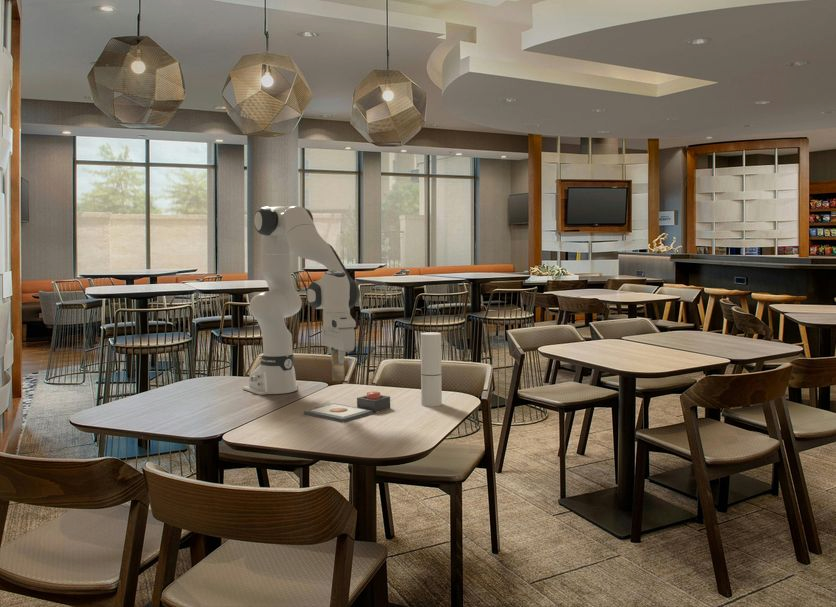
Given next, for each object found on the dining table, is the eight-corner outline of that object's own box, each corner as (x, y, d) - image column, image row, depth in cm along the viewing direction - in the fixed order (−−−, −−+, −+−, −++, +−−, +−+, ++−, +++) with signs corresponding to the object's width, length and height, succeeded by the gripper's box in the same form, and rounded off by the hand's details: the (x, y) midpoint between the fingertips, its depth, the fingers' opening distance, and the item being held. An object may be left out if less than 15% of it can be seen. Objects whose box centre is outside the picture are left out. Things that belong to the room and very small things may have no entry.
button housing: (357, 409, 226) (357, 397, 226) (372, 405, 233) (372, 393, 232) (374, 412, 221) (374, 400, 221) (390, 408, 228) (390, 396, 227)
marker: (329, 380, 219) (328, 347, 218) (338, 378, 222) (337, 345, 222) (338, 381, 217) (337, 348, 216) (347, 379, 220) (346, 346, 219)
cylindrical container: (442, 401, 236) (441, 332, 234) (441, 406, 229) (440, 334, 227) (422, 401, 237) (421, 332, 235) (420, 406, 230) (419, 334, 228)
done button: (364, 401, 226) (364, 393, 226) (373, 399, 230) (372, 391, 230) (374, 403, 224) (374, 395, 223) (383, 401, 227) (383, 392, 227)
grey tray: (304, 414, 220) (304, 410, 220) (334, 406, 232) (334, 402, 231) (343, 422, 210) (343, 418, 209) (372, 413, 221) (372, 409, 221)
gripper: (316, 318, 226) (317, 358, 227) (339, 323, 208) (340, 367, 209) (333, 317, 229) (334, 357, 230) (358, 322, 211) (359, 365, 212)
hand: (337, 362), depth 219 cm, fingers closed on marker, 4 cm apart
